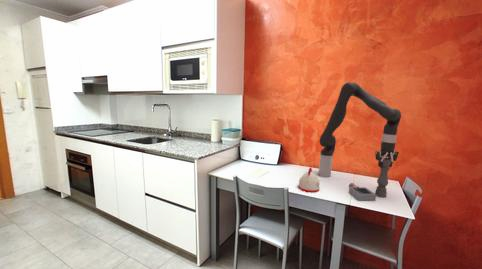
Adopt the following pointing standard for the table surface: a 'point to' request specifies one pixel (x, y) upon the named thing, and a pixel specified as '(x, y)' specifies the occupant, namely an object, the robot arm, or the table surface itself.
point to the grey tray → (361, 193)
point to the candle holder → (383, 178)
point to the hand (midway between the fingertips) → (384, 166)
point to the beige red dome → (309, 182)
